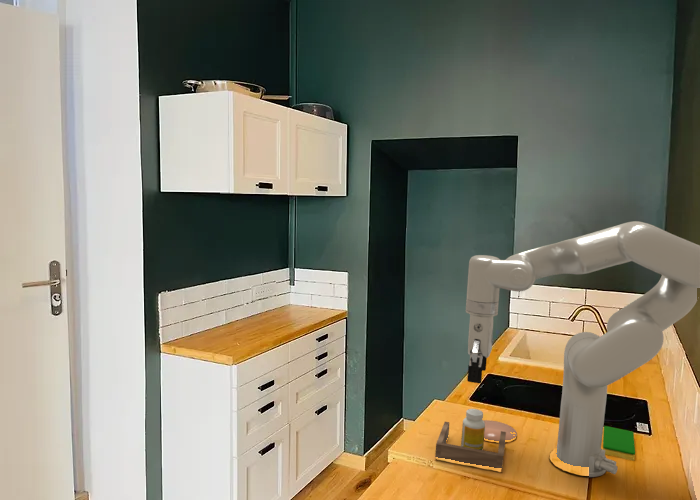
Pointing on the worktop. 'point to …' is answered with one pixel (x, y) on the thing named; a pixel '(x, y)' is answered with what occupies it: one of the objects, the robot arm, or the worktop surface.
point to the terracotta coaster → (497, 430)
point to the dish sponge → (619, 443)
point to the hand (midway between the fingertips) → (476, 375)
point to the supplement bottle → (473, 429)
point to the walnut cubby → (469, 451)
